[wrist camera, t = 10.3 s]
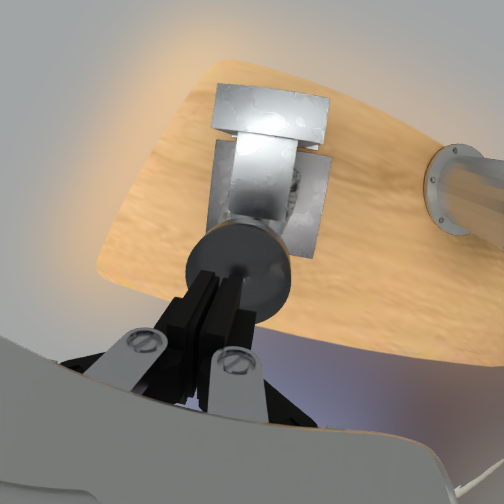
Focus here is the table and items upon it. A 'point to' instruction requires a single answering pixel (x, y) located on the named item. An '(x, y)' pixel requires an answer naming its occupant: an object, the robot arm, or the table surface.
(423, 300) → the table surface
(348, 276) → the table surface
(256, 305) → the disc
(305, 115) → the press frame
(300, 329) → the table surface
